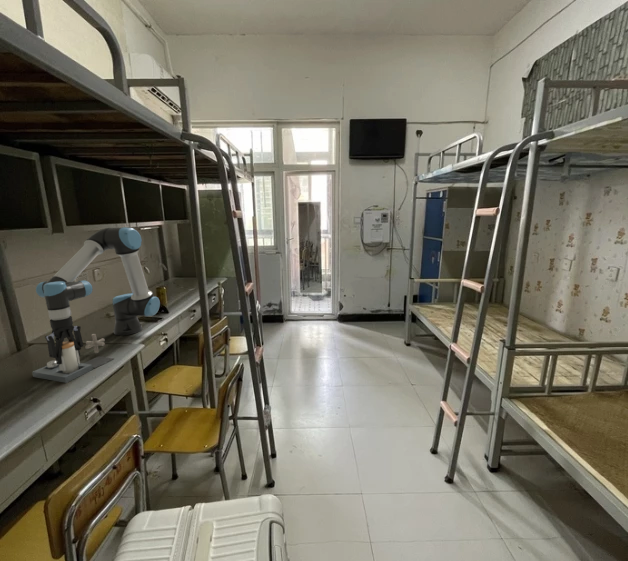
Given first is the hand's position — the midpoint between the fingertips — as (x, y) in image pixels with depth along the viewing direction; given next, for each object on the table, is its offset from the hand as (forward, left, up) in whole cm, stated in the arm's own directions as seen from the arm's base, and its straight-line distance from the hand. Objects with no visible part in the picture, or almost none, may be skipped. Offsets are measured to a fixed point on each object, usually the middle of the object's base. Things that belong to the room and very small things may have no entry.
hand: (70, 366), depth 140 cm
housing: (0, -5, -4) cm, 6 cm away
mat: (-12, 0, -4) cm, 13 cm away
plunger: (0, -11, -3) cm, 11 cm away
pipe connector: (-21, -11, -4) cm, 24 cm away
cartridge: (0, 0, -4) cm, 4 cm away
